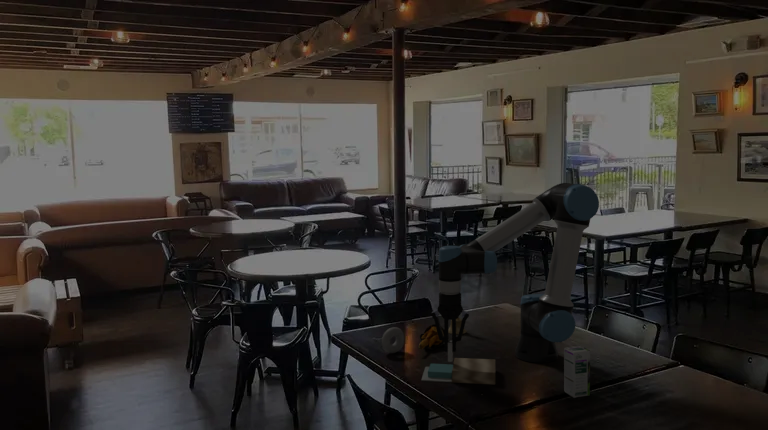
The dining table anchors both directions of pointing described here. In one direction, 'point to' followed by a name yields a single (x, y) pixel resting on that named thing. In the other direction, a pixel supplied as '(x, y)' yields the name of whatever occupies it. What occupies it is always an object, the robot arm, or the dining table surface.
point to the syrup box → (577, 371)
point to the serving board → (473, 371)
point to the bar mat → (426, 378)
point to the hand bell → (458, 325)
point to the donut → (387, 340)
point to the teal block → (440, 370)
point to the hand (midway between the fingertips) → (450, 360)
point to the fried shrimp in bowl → (430, 338)
